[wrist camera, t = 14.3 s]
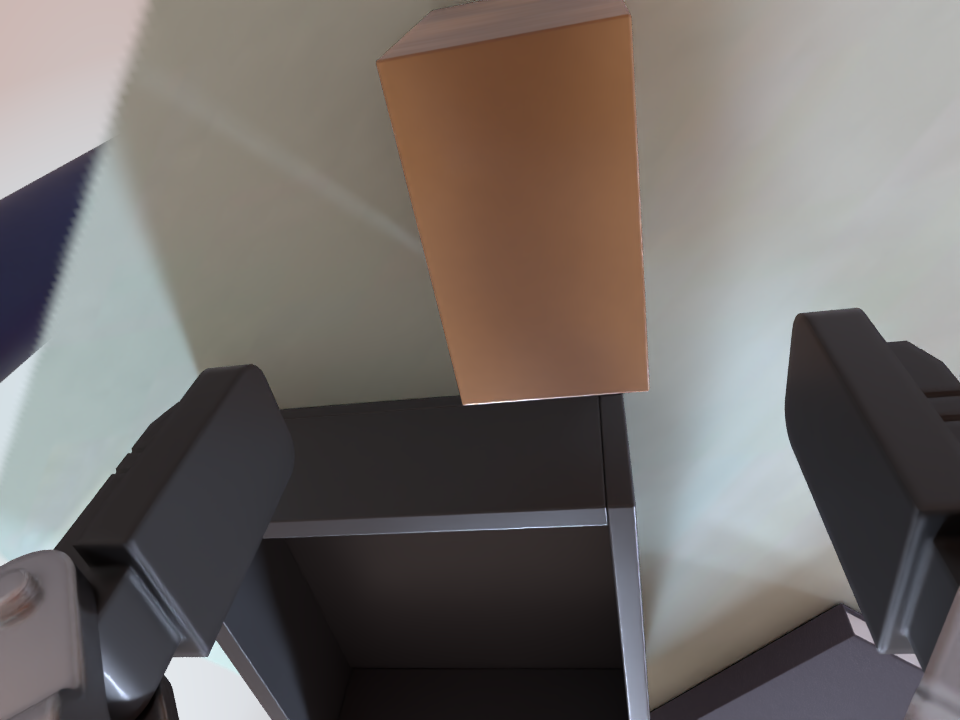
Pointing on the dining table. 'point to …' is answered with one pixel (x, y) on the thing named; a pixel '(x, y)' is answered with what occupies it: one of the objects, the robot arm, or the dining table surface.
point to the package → (527, 192)
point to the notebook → (808, 678)
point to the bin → (449, 566)
